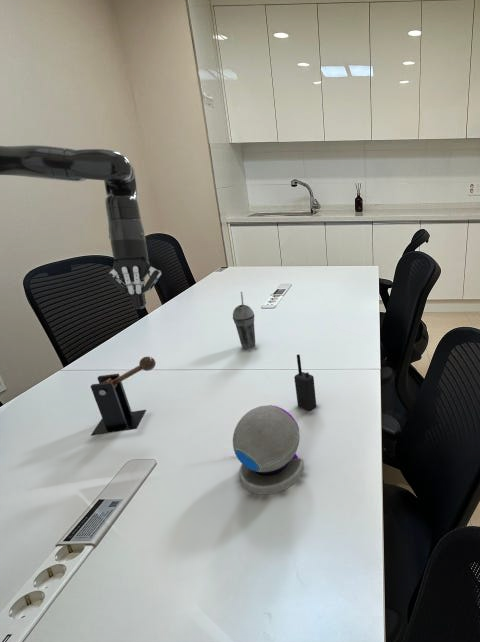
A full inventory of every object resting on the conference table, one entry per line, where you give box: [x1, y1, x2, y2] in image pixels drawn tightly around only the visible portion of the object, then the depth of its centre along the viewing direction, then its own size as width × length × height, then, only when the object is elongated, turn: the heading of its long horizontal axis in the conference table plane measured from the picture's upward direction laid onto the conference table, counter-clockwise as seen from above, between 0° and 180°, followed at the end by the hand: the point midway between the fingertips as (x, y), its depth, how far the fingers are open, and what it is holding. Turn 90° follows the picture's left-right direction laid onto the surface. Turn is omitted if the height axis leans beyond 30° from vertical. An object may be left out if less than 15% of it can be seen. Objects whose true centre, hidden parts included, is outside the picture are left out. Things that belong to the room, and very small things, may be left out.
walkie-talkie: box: [293, 354, 317, 412], centre depth 100 cm, size 5×3×15 cm
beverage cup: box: [232, 291, 256, 350], centre depth 134 cm, size 7×7×20 cm
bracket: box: [90, 373, 147, 436], centre depth 94 cm, size 10×8×13 cm
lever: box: [102, 356, 157, 388], centre depth 92 cm, size 14×3×3 cm, turn 103°
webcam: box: [232, 404, 305, 495], centre depth 78 cm, size 13×13×15 cm
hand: (139, 308), depth 99 cm, fingers closed
